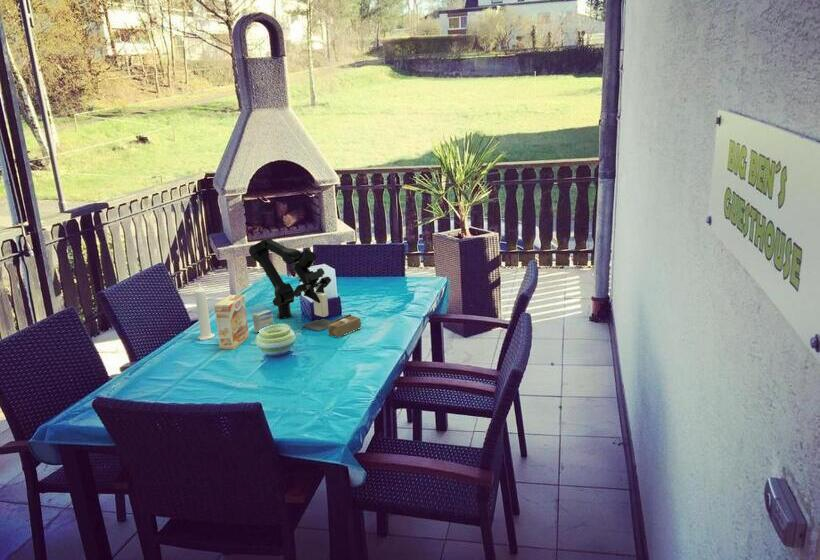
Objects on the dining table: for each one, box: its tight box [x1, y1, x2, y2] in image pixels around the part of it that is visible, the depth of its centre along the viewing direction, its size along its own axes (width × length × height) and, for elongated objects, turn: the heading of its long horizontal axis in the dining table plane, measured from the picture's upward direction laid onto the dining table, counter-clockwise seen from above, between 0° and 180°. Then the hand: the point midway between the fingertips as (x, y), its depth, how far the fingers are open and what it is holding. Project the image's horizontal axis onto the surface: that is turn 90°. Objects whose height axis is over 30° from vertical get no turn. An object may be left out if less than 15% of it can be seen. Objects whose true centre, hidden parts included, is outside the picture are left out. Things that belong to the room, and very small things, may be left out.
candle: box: [194, 282, 215, 341], centre depth 293 cm, size 7×7×25 cm
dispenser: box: [327, 313, 362, 338], centre depth 294 cm, size 6×14×6 cm, turn 140°
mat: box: [301, 318, 332, 332], centre depth 304 cm, size 12×12×1 cm
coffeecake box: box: [214, 294, 250, 350], centre depth 285 cm, size 15×7×20 cm, turn 168°
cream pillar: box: [312, 292, 329, 318], centre depth 300 cm, size 6×3×10 cm, turn 50°
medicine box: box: [252, 309, 275, 334], centre depth 300 cm, size 8×4×9 cm, turn 143°
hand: (322, 301), depth 299 cm, fingers closed on cream pillar, 3 cm apart
